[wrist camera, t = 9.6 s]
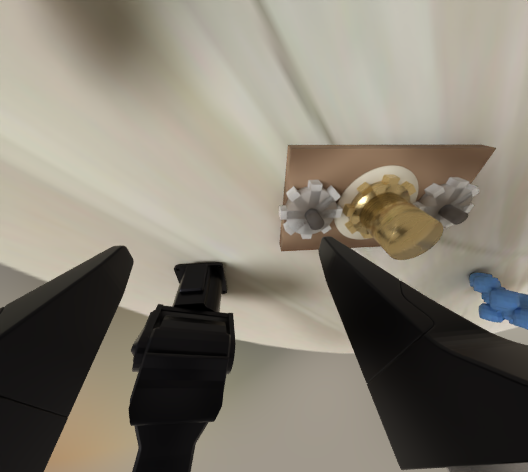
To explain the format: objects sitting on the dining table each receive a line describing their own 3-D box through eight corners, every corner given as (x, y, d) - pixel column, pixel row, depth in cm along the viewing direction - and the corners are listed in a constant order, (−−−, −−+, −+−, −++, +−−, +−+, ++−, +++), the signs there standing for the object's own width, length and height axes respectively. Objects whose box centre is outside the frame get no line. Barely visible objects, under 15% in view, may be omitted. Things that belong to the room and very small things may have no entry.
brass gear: (391, 232, 23) (430, 268, 18) (335, 234, 22) (360, 272, 18) (422, 173, 19) (484, 201, 14) (354, 175, 18) (393, 204, 13)
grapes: (433, 278, 33) (510, 353, 24) (474, 253, 30) (582, 329, 20) (461, 295, 38) (535, 364, 28) (499, 275, 34) (597, 345, 25)
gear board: (423, 236, 26) (452, 259, 23) (274, 243, 25) (279, 269, 21) (486, 144, 19) (542, 156, 16) (280, 145, 17) (290, 158, 14)
